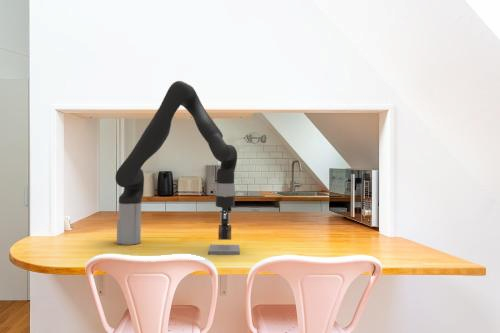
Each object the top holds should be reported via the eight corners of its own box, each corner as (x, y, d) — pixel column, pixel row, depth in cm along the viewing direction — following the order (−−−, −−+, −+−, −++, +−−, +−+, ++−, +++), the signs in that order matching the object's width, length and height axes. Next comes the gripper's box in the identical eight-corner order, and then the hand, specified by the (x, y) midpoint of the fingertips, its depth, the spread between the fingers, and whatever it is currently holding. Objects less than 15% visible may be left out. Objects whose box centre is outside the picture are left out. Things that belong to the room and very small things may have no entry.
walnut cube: (218, 239, 151) (218, 226, 151) (218, 237, 156) (218, 224, 156) (231, 239, 151) (231, 226, 151) (231, 237, 156) (231, 224, 156)
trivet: (208, 254, 147) (208, 251, 147) (209, 247, 159) (209, 244, 159) (239, 254, 148) (239, 251, 148) (239, 247, 160) (239, 244, 160)
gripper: (216, 193, 160) (215, 234, 161) (215, 196, 146) (214, 241, 146) (234, 193, 161) (233, 234, 161) (234, 196, 146) (234, 241, 147)
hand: (224, 237), depth 154 cm, fingers closed on walnut cube, 5 cm apart
